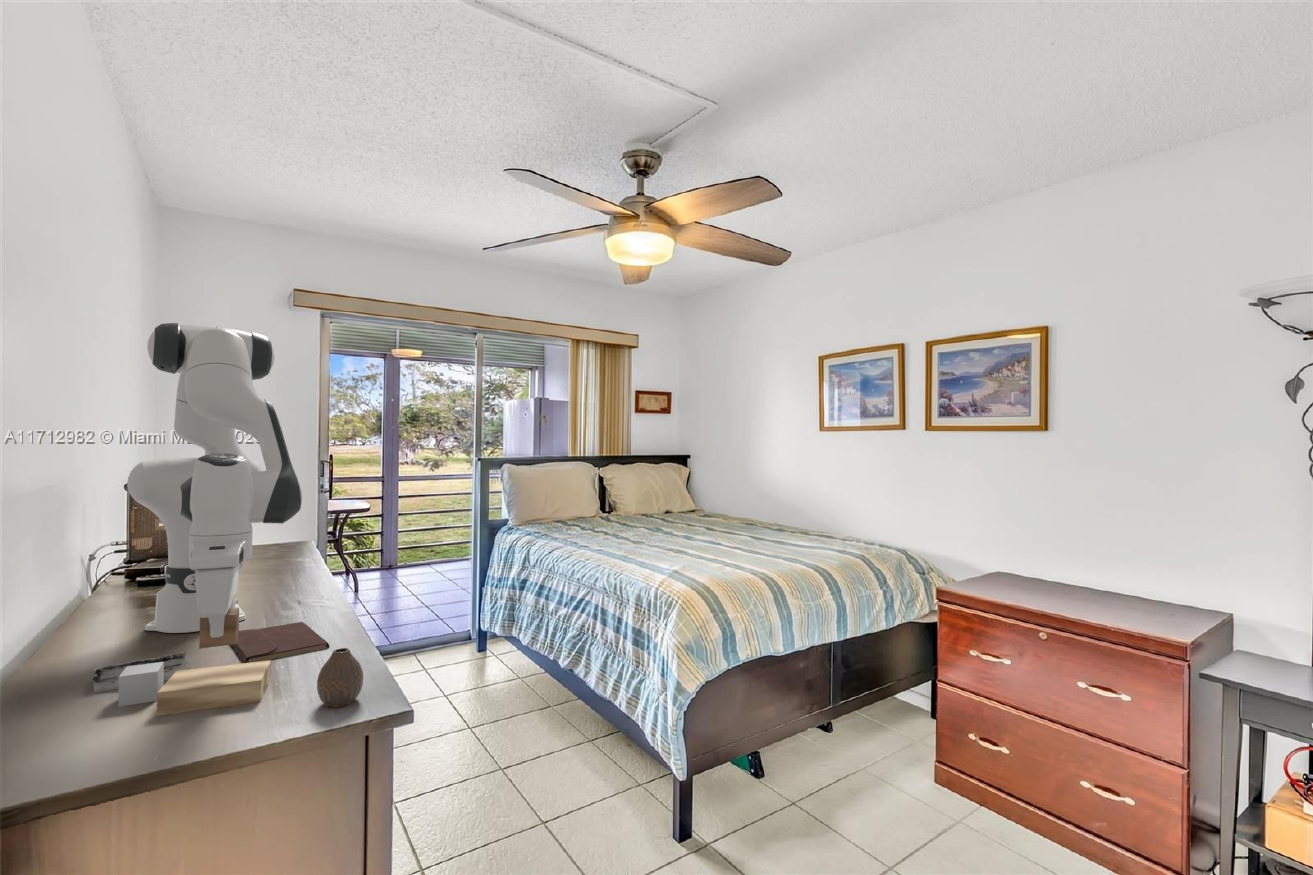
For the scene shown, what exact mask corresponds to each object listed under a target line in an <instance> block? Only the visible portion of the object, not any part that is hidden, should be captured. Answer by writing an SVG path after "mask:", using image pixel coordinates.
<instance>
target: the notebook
mask: <svg viewBox="0 0 1313 875" xmlns="http://www.w3.org/2000/svg"><path fill="white" fill-rule="evenodd" d="M231 647H232V648H233V649H234V651H235V652H236V653H237V655H238V657H240V659H241V660H242V661H243V663H251V662H260V661H269V660H274V659H279V658H285V657H289V656H294V655H298V654H304V653H310V652H315V651H318V650H323V649H329V648H330V644H329V642H328V641H326V640H325V639H324V638H323V637H322V636H321V635H319V634H318V633H317V632H315V631H314V630H313V629H312V628H311V627H310V626H309V625H307V624H306V623H305V622H304V621H298V622H292V623H287V624H281V625H273V626H267V627H263V628H257V629H256V628H255V629H254V628H252V629H244V630H239V636H238V639H237V642H236V644H233V645H231Z"/></svg>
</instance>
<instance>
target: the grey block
mask: <svg viewBox="0 0 1313 875" xmlns="http://www.w3.org/2000/svg"><path fill="white" fill-rule="evenodd" d="M164 668H165V667H164V662H158V663H150V664H142V665H135V666H127V667H126V668H125V669H124V671H123V672H122V673H121V675H119V676H118V677H119V689H118V703H117V706H118V708H119V707H126V705H127V706H133V705H139V704H140V705H141V704H145V703H151V702H152V701H153V702H157V692H158V691H159V690H160V689H161V688H162V687H163V686H164V681H163V679H164V671H165V670H164Z"/></svg>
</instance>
